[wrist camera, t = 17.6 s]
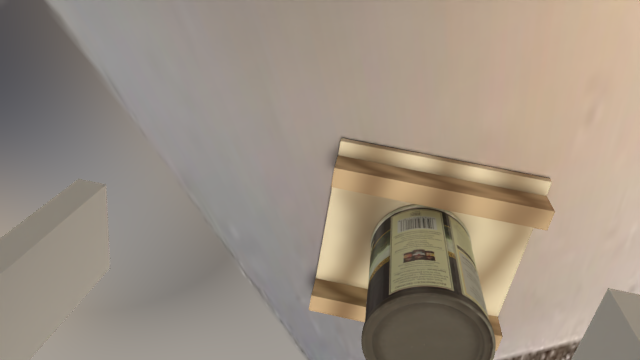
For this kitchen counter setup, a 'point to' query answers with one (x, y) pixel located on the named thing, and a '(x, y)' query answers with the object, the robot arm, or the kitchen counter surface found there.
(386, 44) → the kitchen counter surface
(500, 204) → the cradle
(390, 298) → the coffee can
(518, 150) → the kitchen counter surface
